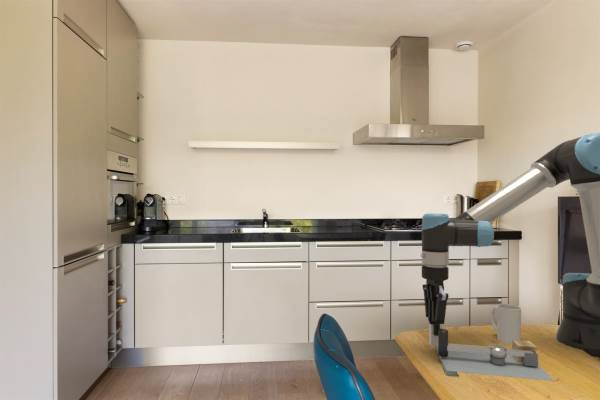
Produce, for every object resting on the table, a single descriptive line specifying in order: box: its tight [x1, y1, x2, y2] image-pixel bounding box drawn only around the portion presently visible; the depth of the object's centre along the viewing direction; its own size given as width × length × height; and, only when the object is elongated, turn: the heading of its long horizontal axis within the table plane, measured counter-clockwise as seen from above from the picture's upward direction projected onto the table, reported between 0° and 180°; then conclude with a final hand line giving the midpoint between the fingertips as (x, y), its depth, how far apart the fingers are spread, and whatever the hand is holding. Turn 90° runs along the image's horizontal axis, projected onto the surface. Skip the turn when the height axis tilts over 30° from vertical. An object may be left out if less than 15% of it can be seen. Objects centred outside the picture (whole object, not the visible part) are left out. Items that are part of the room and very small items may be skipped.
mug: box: [489, 303, 522, 345], centre depth 118 cm, size 10×7×12 cm, turn 21°
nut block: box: [511, 339, 537, 363], centre depth 102 cm, size 4×4×4 cm
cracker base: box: [434, 346, 555, 382], centre depth 101 cm, size 25×18×3 cm
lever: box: [437, 328, 539, 367], centre depth 100 cm, size 25×4×7 cm, turn 78°
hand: (434, 344), depth 108 cm, fingers closed
